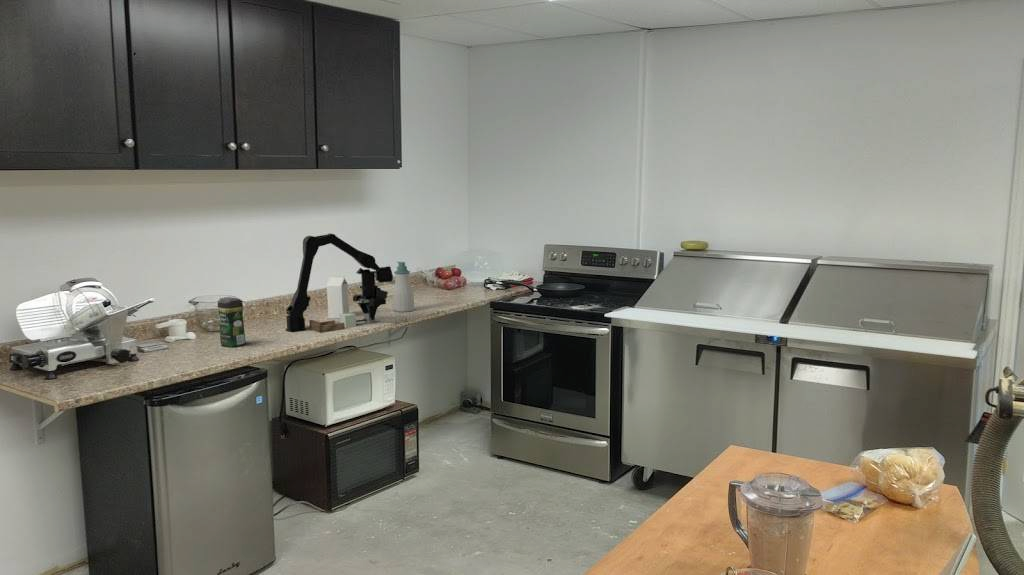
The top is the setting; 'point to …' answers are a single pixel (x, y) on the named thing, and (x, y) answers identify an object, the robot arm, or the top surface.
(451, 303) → the top surface
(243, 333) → the coffee jar
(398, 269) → the soap bottle
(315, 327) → the walnut lane
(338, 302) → the milk carton
